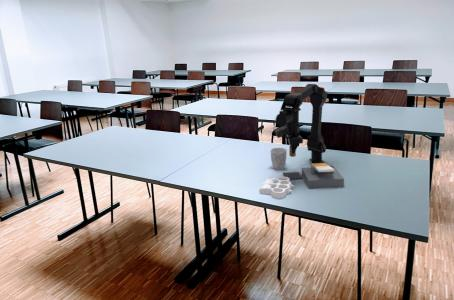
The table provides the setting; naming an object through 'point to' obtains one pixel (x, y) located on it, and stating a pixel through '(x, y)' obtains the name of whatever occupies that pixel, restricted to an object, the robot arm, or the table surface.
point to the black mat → (292, 175)
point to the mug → (278, 158)
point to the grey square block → (322, 178)
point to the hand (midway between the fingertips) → (292, 152)
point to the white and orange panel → (322, 167)
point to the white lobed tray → (277, 187)
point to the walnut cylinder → (291, 152)
